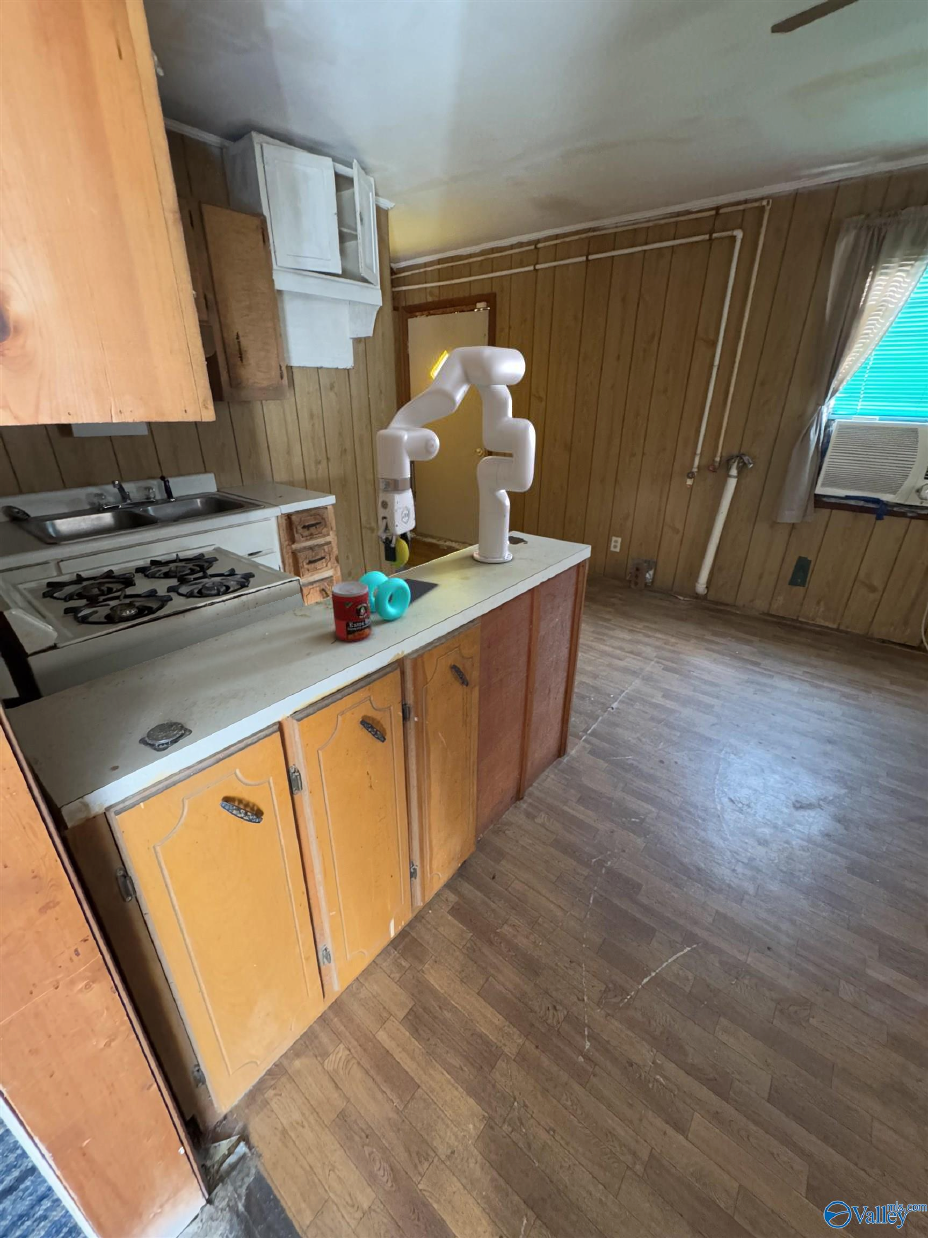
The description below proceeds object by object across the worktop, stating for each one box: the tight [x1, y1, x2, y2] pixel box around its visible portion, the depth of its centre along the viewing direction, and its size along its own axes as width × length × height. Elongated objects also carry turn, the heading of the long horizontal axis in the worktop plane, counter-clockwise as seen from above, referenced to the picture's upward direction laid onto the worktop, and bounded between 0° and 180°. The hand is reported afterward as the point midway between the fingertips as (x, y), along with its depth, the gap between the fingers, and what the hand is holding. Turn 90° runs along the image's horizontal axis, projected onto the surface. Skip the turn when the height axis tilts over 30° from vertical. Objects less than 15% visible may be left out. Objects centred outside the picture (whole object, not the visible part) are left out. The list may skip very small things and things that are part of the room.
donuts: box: [358, 570, 410, 621], centre depth 118 cm, size 10×10×10 cm
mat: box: [388, 578, 439, 605], centre depth 134 cm, size 18×10×1 cm, turn 155°
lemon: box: [388, 536, 410, 569], centre depth 126 cm, size 6×6×8 cm
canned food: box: [330, 580, 372, 642], centre depth 108 cm, size 8×8×11 cm
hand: (397, 557), depth 127 cm, fingers closed on lemon, 5 cm apart
